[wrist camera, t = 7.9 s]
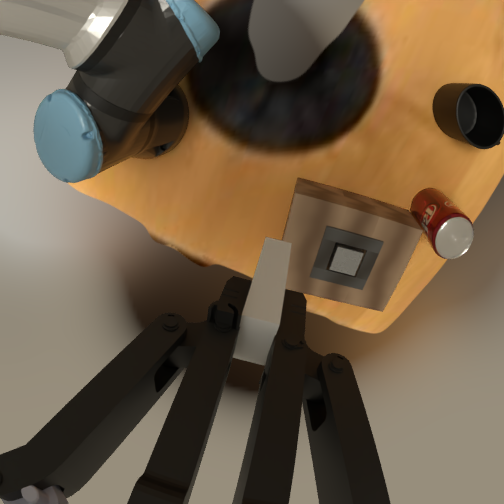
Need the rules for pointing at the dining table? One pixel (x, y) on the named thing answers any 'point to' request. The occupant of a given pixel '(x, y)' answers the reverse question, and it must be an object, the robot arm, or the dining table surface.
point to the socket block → (349, 233)
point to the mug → (470, 114)
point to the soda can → (442, 223)
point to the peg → (345, 258)
